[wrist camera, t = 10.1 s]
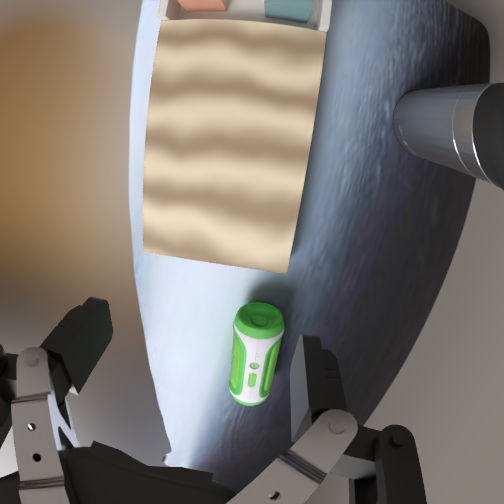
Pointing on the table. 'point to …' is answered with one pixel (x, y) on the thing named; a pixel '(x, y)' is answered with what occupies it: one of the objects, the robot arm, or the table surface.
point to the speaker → (255, 351)
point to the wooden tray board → (229, 140)
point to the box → (248, 13)
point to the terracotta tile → (204, 5)
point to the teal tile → (288, 10)
